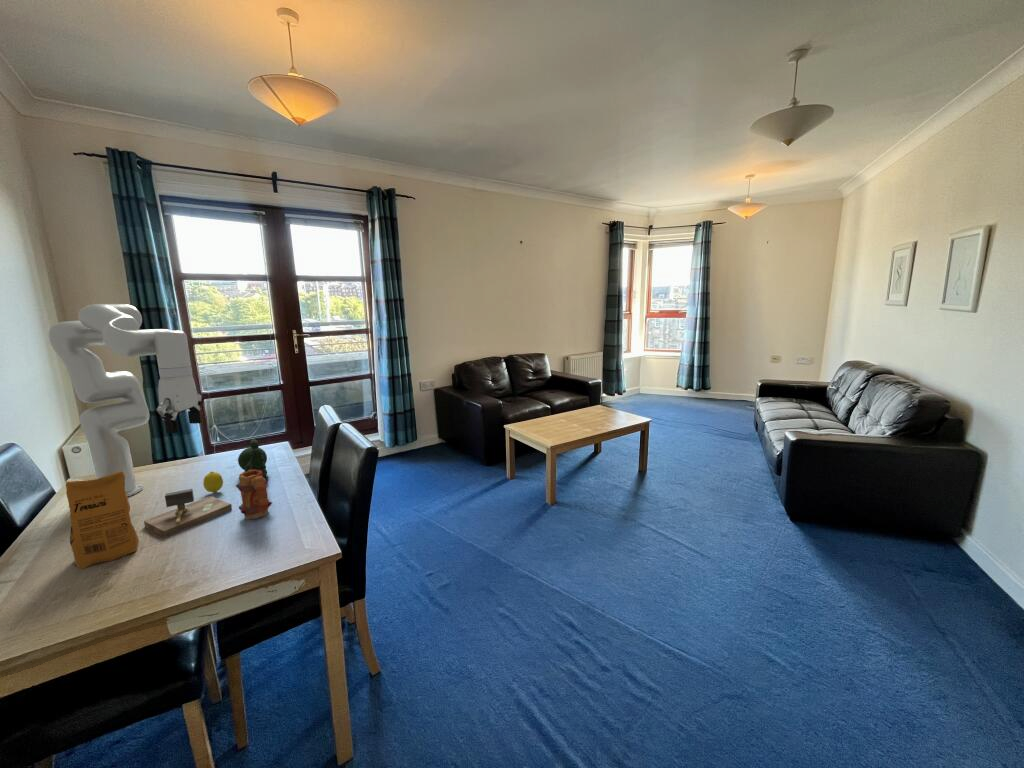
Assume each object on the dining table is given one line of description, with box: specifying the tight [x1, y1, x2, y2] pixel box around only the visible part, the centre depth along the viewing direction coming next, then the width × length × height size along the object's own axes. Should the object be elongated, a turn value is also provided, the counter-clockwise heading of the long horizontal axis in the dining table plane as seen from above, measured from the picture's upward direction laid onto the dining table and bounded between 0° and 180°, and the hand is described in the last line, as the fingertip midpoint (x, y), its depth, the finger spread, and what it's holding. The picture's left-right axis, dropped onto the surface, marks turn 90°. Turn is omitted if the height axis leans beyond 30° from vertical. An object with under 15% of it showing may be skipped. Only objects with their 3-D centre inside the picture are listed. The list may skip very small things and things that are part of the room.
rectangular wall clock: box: [143, 495, 233, 538], centre depth 126 cm, size 12×18×2 cm, turn 152°
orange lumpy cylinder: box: [235, 470, 273, 520], centre depth 125 cm, size 15×8×15 cm, turn 47°
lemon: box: [202, 471, 224, 494], centre depth 142 cm, size 6×6×8 cm
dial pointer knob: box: [164, 488, 195, 523], centre depth 123 cm, size 9×6×6 cm
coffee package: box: [65, 471, 140, 569], centre depth 106 cm, size 10×12×22 cm
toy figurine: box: [237, 438, 269, 483], centre depth 153 cm, size 9×19×25 cm
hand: (184, 427), depth 124 cm, fingers open, 9 cm apart
